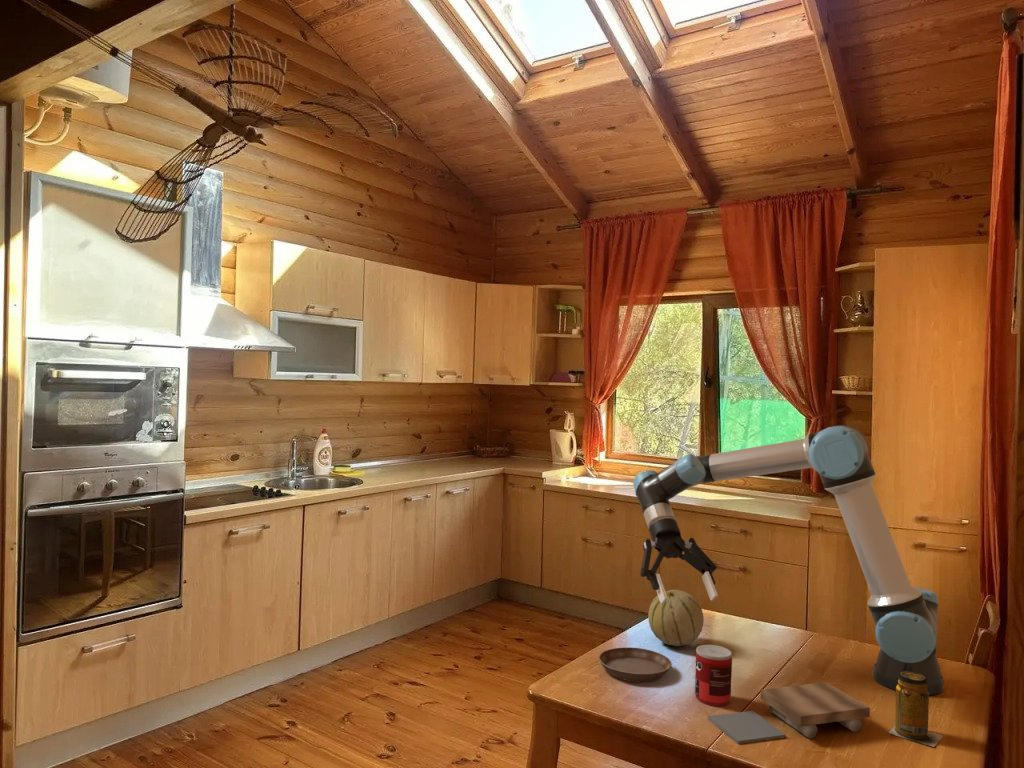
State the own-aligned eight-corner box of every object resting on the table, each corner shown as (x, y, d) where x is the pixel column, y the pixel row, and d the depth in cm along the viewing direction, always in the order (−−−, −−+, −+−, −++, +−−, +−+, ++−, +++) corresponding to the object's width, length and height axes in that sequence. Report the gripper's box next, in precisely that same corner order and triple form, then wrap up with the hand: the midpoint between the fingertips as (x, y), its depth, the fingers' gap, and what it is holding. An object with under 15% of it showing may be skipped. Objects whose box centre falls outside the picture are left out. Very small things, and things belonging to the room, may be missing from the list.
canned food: (703, 688, 172) (704, 641, 172) (736, 698, 167) (737, 650, 167) (688, 699, 166) (690, 650, 166) (722, 710, 161) (723, 660, 161)
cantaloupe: (710, 642, 203) (711, 587, 203) (692, 658, 191) (694, 600, 191) (658, 631, 211) (660, 579, 211) (639, 646, 199) (640, 590, 199)
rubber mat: (752, 713, 160) (752, 710, 160) (785, 737, 150) (785, 734, 150) (707, 719, 157) (707, 716, 157) (738, 744, 146) (738, 741, 146)
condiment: (898, 722, 158) (900, 666, 158) (943, 736, 152) (945, 678, 152) (887, 733, 152) (889, 676, 152) (933, 748, 147) (935, 688, 147)
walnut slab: (825, 704, 166) (826, 682, 166) (869, 731, 153) (869, 707, 153) (760, 712, 161) (761, 689, 161) (800, 741, 148) (800, 716, 148)
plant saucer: (604, 654, 193) (604, 642, 193) (673, 663, 188) (674, 651, 188) (592, 680, 176) (593, 667, 176) (668, 691, 171) (668, 678, 171)
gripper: (698, 531, 199) (728, 604, 185) (613, 534, 192) (637, 609, 177) (710, 515, 194) (741, 589, 179) (623, 517, 186) (648, 594, 172)
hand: (689, 599), depth 178 cm, fingers open, 13 cm apart
